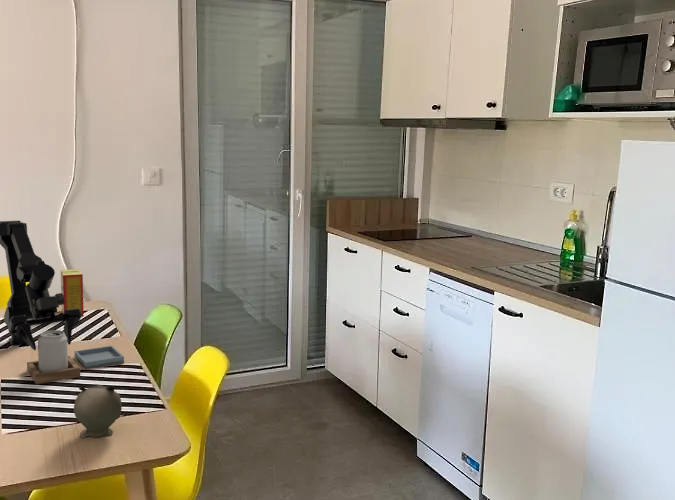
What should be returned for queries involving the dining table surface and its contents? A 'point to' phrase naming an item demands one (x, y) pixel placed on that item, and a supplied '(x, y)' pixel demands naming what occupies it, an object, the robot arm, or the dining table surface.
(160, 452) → the dining table surface
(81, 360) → the tray
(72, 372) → the holder collar
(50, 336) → the can
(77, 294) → the baking soda box
